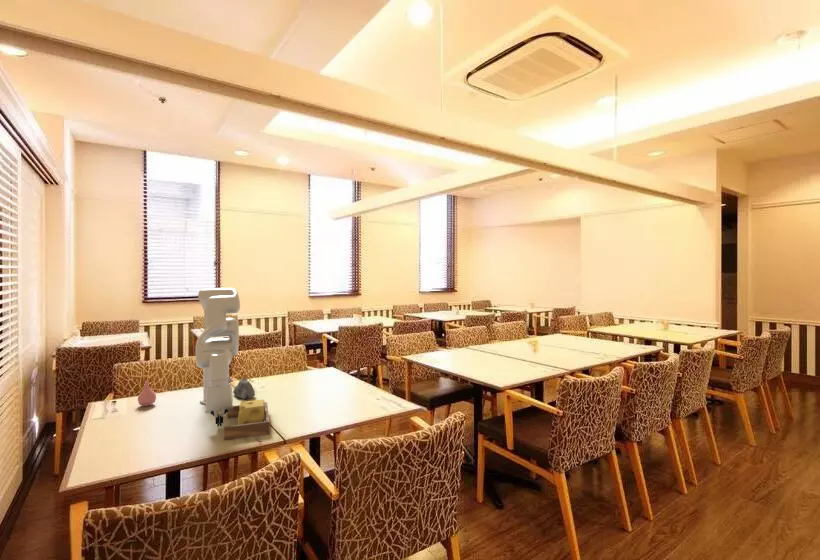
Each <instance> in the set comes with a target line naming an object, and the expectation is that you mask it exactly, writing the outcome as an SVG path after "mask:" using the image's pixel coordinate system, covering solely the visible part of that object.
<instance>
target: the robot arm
mask: <svg viewBox="0 0 820 560" xmlns="http://www.w3.org/2000/svg"><path fill="white" fill-rule="evenodd" d="M197 296H198V301H199V303H200V305H201V306H202V309H203V320H204V321H203V325H204V326H203V327H204V328H203V329H204V331H203V332H201V334H200V335H199V336H198V338H197V340H196V342H195V365H196V366H197V368H199V369H202V371H203V372H202V375H203V376H202V377H203V381H202V384H203V386H202V387H203V388H202V389H203V393H202V394H203V397H201V398H200V399H199V403H201V404H203V405H205V411H204V413H205V414H209V415H212V416H213V417H214V419H215V425H217V428H219V427H222V426H223V424H224V417H225V415H226V414H227V412H228V411H232V410H233V406H234V405H233V398H234V397H233V388H232V384H231V383H232V382H233V380H234V379H233V378H231V377H230V364H231V362H232V360H233V356H237V355H238V353H239V347H240V346H239V342H240V328H239V326H240V325H239V321H238V320H237V318H234V317H227V315H228V314H237V313H239V311H240V309H241V301H240V297H239V293H238V290H237V289H236V288H235V287H212V288H211V287H209V288H206V287H205V288H202V289H200V290H199V291H198V295H197ZM219 411H221V412H220V414H219Z"/></svg>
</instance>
